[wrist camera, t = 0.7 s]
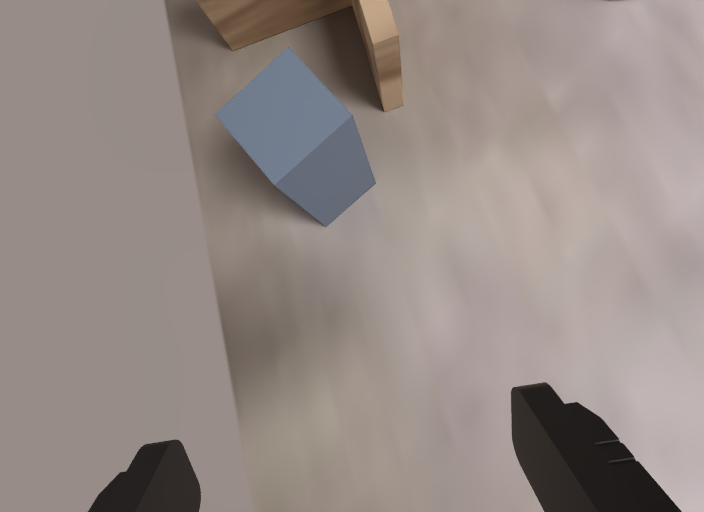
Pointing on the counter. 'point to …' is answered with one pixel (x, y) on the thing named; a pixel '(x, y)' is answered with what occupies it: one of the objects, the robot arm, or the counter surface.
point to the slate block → (300, 138)
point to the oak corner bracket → (307, 5)
